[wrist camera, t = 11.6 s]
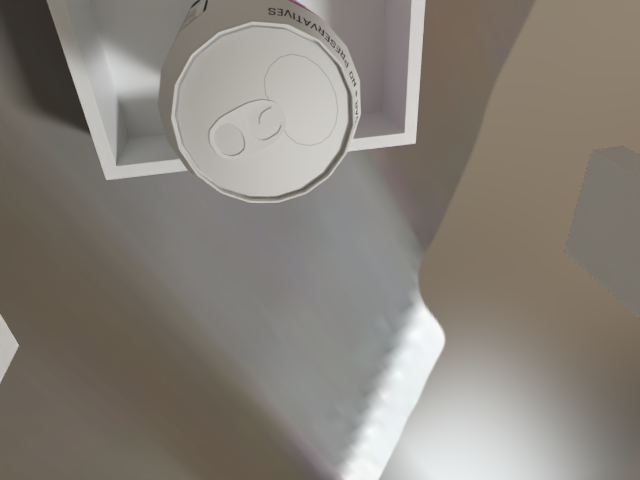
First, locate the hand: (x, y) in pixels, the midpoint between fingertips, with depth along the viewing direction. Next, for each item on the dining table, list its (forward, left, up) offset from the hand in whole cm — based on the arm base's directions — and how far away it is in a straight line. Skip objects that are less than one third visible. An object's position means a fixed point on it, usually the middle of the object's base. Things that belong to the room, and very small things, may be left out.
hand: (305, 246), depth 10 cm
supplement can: (0, 0, -24) cm, 24 cm away
